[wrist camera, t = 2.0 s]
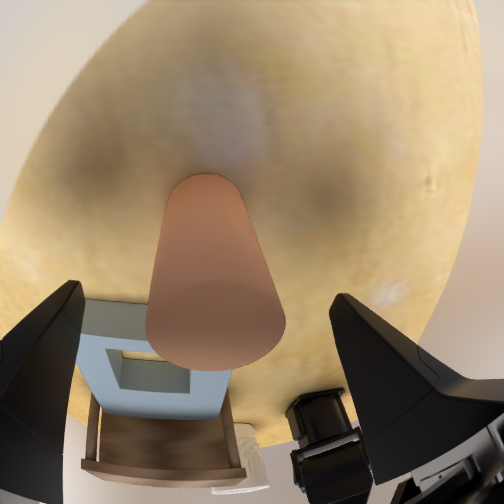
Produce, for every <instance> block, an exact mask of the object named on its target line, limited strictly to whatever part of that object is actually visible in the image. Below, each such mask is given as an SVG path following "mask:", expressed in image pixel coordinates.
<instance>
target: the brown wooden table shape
mask: <svg viewBox="0 0 504 504" xmlns="http://www.w3.org/2000/svg"><path fill="white" fill-rule="evenodd" d="M99 412H100V404H99V403H98V401H97V399H96V398H95V396H94V394H93V393H92V394H91V401H90V409H89V417H88V427H87V439H86V457H85V459H81V469H83V470H85V471H87V472H89V473H90V474H92V475H94V476H96V477H98V478H100V479H102V480H106V481H112V482H118V483H125V484H133V485H141V486H153V487H170V488H209V487H226V486H235V485H237V484H238V483H240V482H241V481H243V480H244V479H246V478H247V473H246V468H242V467H241V462H240V457H239V451H238V446H237V440H236V435H235V429H234V423H233V418H232V412H231V405H230V399H229V393H228V387H227V389H226V393H225V396H224V400H223V403H222V407H221V410H220V414H219V417H218V420H173V419H154V418H141V417H131V416H122V415H115V414H108V413H105V412H104V411H103V409H102V417H101V430H100V448H99V462H96V455H97V435H98V422H99Z"/></svg>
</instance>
